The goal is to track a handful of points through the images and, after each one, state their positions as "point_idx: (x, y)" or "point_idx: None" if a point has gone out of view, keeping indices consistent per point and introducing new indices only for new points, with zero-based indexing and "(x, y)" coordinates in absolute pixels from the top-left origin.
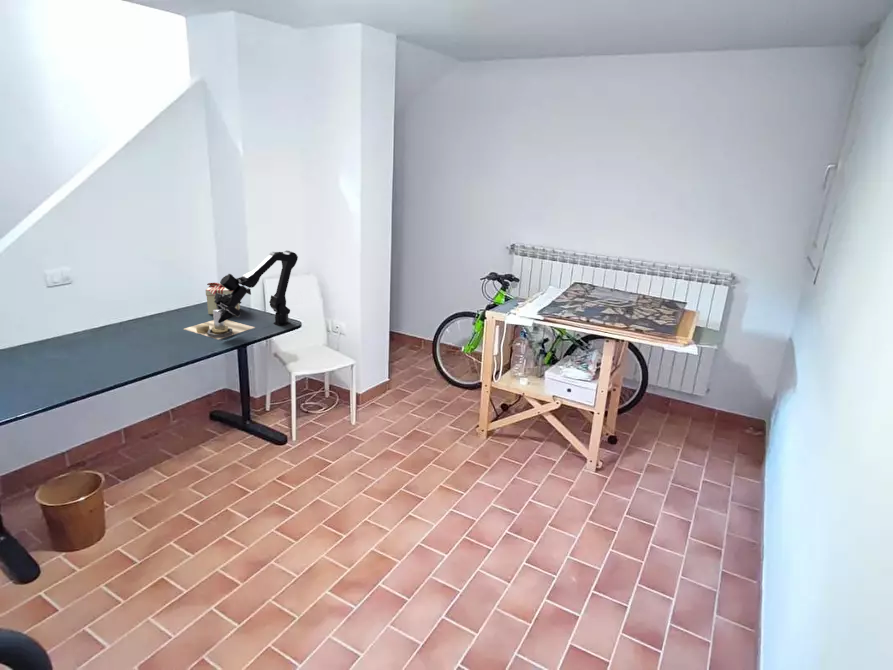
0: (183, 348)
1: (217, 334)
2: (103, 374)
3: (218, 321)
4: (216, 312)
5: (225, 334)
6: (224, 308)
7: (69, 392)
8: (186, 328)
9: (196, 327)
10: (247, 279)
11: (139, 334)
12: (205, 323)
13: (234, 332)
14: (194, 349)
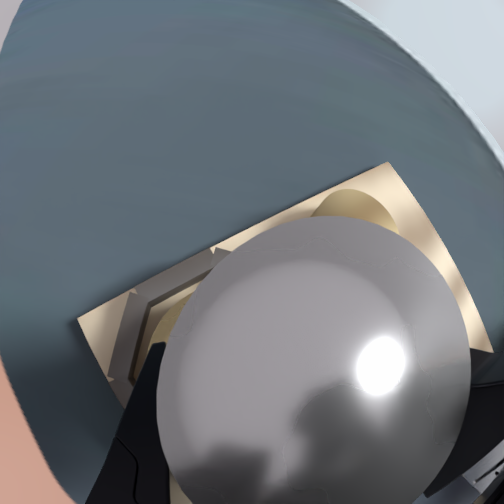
0: (86, 115)
1: (124, 322)
2: (59, 9)
3: (150, 349)
4: (181, 313)
5: (118, 395)
6: (479, 481)
7: (31, 4)
8: (393, 176)
9: (345, 190)
10: None
11: (348, 60)
12: (455, 285)
13: None
14: (36, 157)
